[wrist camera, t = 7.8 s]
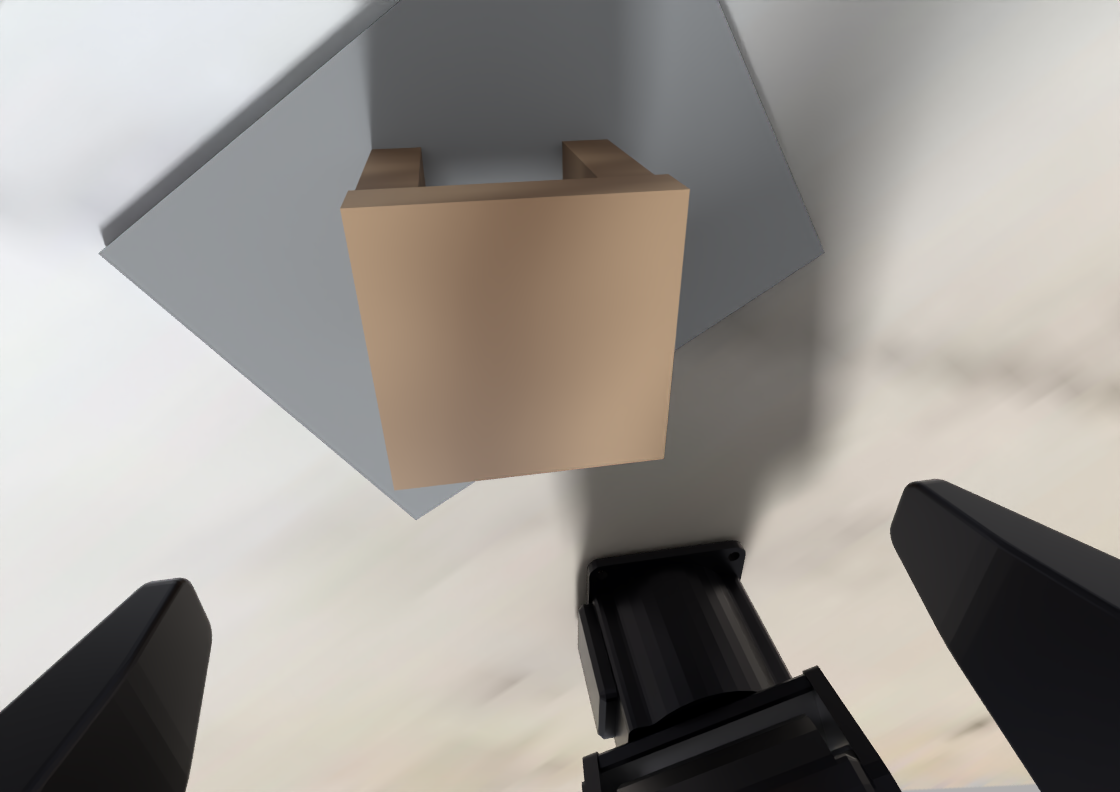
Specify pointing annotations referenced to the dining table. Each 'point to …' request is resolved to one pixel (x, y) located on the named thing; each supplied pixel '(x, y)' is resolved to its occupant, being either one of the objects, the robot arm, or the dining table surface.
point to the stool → (518, 314)
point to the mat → (462, 182)
